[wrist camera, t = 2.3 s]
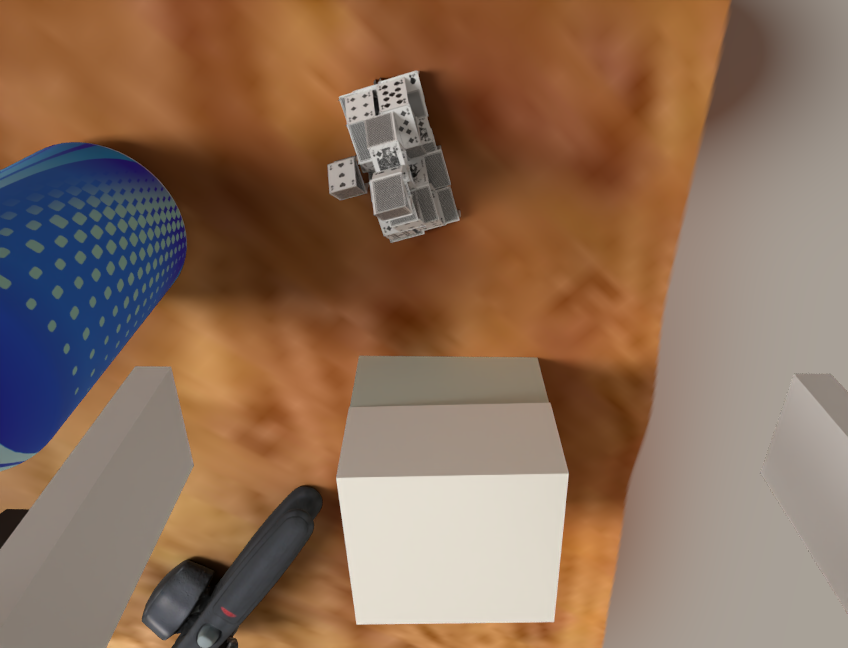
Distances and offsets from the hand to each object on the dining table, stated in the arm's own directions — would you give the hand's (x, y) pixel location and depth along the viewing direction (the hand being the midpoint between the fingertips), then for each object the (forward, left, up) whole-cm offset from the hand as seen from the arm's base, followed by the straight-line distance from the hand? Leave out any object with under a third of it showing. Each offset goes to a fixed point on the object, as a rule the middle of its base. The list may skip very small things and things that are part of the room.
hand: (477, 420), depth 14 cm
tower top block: (0, -16, -15) cm, 22 cm away
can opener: (-14, -27, -20) cm, 37 cm away
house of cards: (-5, +1, -20) cm, 21 cm away
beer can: (-17, -3, -20) cm, 26 cm away
